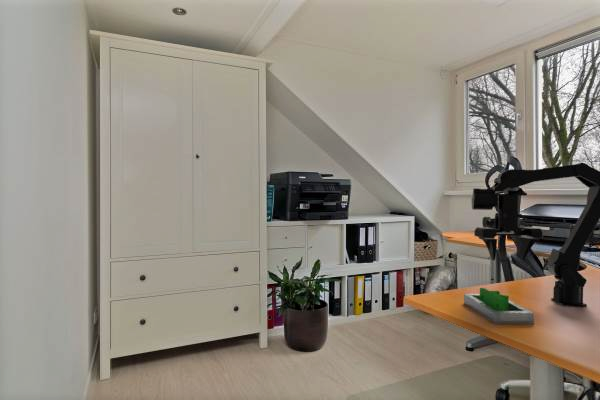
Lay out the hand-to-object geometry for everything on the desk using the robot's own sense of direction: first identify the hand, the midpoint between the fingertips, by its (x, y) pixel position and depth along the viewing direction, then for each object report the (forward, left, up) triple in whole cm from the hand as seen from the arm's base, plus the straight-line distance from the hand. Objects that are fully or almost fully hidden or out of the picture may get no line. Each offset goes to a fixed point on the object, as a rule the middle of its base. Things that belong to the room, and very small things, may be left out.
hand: (507, 260), depth 115 cm
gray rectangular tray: (+11, +14, -12) cm, 21 cm away
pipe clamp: (+11, +14, -11) cm, 21 cm away
